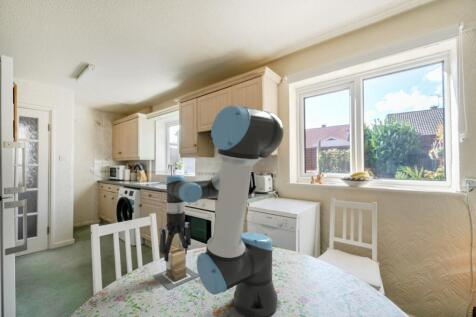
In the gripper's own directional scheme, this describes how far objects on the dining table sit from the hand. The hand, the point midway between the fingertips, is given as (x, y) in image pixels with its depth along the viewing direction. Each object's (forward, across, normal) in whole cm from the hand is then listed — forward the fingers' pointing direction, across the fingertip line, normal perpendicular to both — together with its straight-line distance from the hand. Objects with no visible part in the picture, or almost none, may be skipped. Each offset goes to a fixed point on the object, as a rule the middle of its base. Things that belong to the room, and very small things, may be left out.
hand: (175, 265), depth 93 cm
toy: (+3, -35, +12) cm, 37 cm away
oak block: (0, 0, 0) cm, 0 cm away
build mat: (+5, 0, 0) cm, 5 cm away
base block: (+4, 0, 0) cm, 4 cm away
